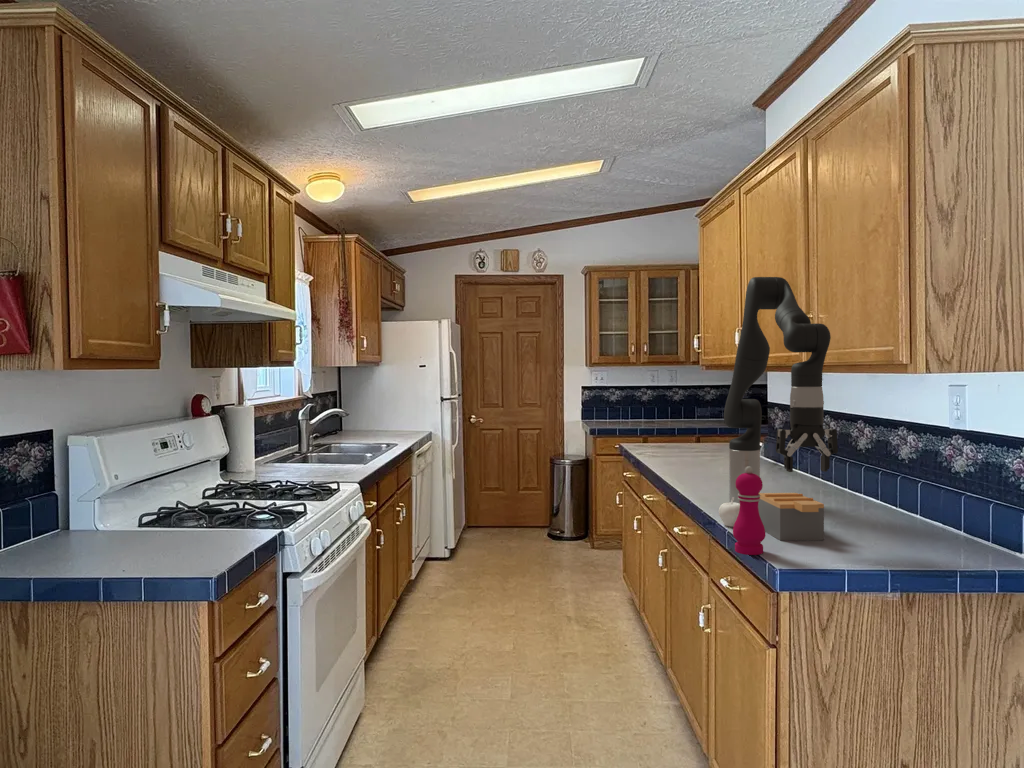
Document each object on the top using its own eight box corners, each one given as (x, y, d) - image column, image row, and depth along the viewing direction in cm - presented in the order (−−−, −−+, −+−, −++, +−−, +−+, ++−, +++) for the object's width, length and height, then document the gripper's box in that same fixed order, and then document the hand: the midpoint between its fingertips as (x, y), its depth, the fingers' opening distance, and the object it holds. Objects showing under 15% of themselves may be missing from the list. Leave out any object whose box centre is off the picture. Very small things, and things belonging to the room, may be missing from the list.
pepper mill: (726, 549, 162) (726, 465, 162) (749, 546, 165) (749, 463, 165) (747, 557, 155) (747, 469, 155) (772, 553, 158) (772, 467, 158)
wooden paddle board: (755, 499, 186) (755, 490, 186) (795, 499, 187) (795, 489, 187) (787, 515, 166) (787, 504, 166) (832, 515, 166) (832, 504, 166)
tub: (755, 526, 186) (755, 496, 186) (795, 525, 187) (795, 496, 187) (780, 540, 170) (780, 508, 170) (823, 540, 171) (823, 508, 171)
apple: (725, 528, 184) (725, 499, 183) (714, 523, 191) (714, 494, 190) (750, 528, 184) (750, 498, 184) (739, 522, 191) (739, 493, 191)
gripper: (828, 404, 171) (828, 469, 172) (771, 404, 171) (771, 469, 171) (843, 405, 164) (843, 473, 164) (784, 406, 164) (784, 474, 164)
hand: (806, 471), depth 168 cm, fingers open, 8 cm apart
